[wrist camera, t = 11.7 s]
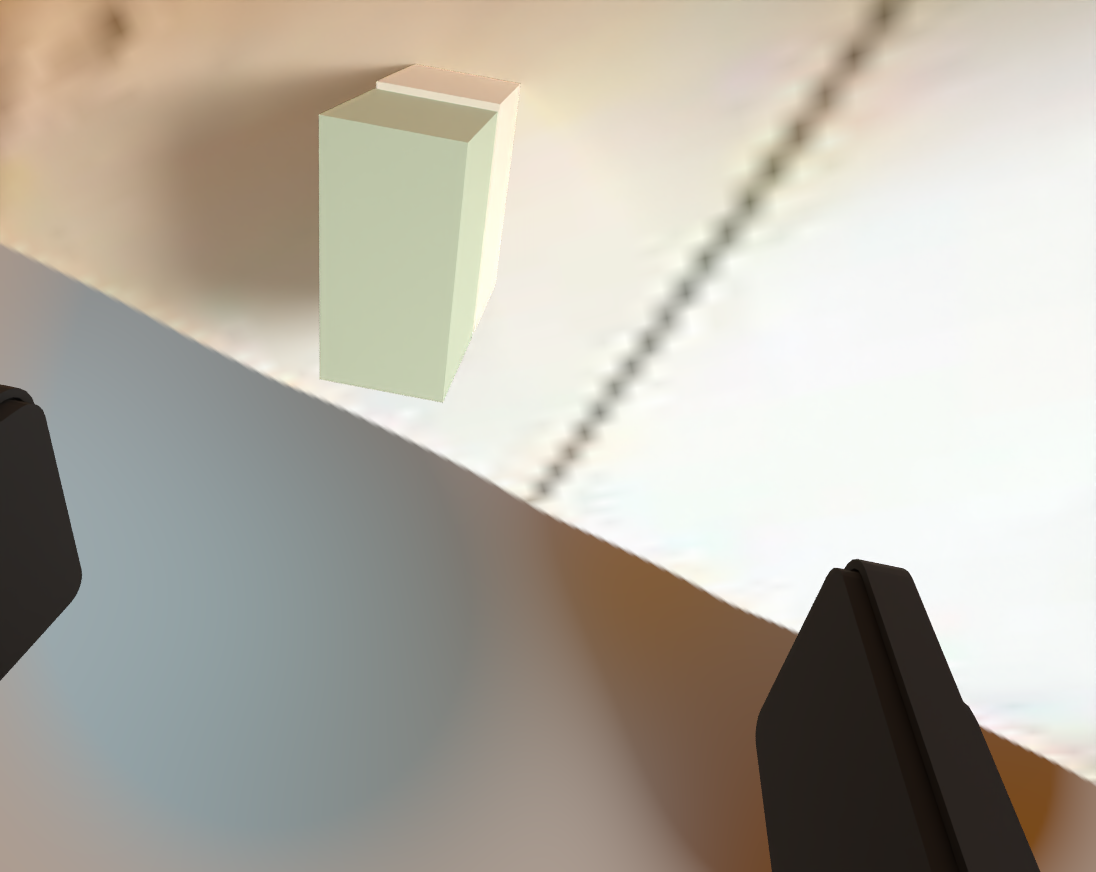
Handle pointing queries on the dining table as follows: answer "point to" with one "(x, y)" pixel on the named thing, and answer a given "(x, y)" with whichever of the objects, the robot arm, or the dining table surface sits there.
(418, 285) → the sage brick
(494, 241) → the cream brick
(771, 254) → the dining table surface
